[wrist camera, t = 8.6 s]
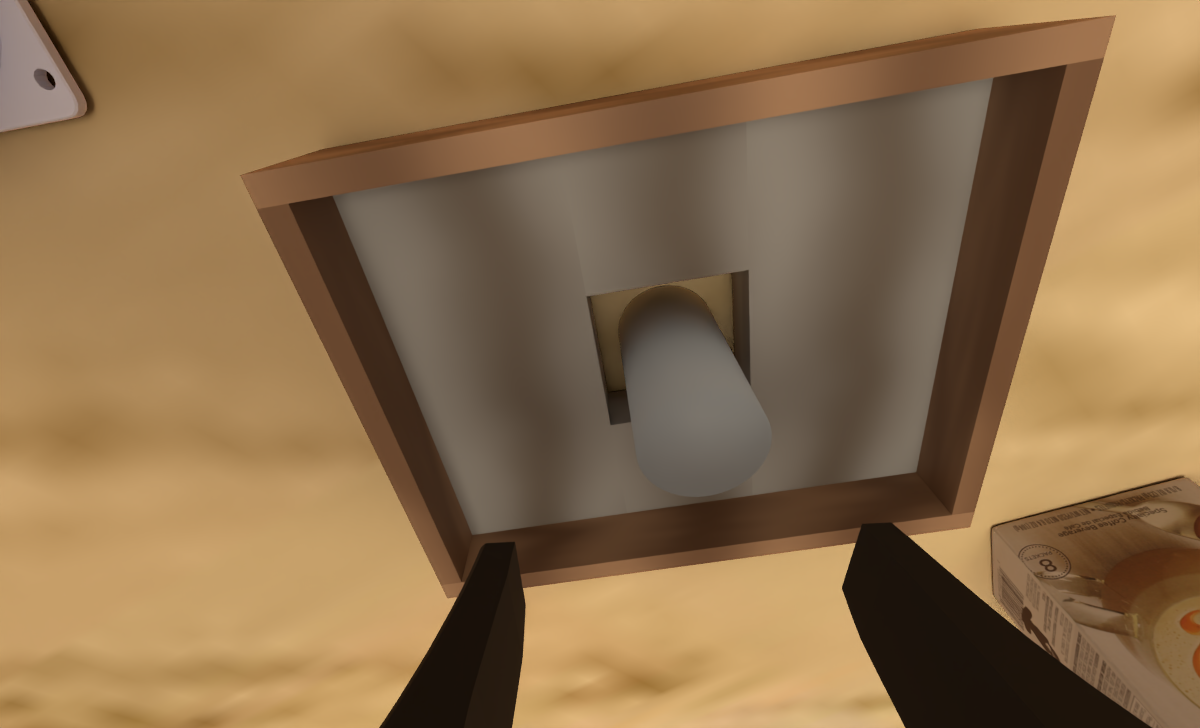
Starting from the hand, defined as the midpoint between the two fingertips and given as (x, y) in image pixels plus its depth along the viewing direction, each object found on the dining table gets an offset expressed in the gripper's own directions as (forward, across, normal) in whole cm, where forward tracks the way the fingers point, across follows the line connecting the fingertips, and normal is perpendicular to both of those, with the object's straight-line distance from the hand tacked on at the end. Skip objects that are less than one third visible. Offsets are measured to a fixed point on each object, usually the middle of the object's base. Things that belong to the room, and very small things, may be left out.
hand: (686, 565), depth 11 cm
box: (+10, -1, 0) cm, 10 cm away
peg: (+10, -1, 0) cm, 10 cm away
